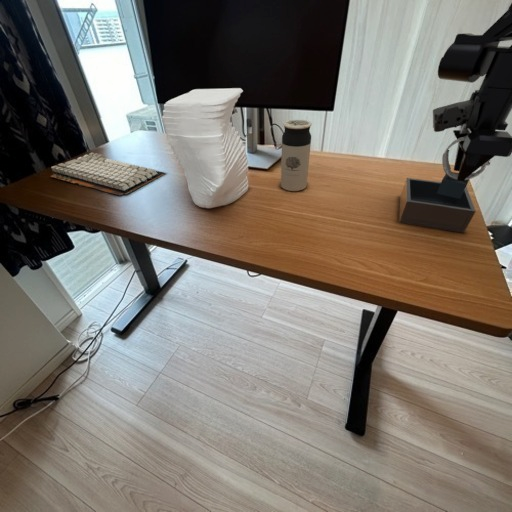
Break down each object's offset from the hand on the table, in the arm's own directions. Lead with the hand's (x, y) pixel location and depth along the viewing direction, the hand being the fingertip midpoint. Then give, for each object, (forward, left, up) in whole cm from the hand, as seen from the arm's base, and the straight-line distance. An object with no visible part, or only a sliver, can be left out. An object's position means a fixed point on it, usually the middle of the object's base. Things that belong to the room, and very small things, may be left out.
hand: (458, 175), depth 55 cm
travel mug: (+37, -11, -13) cm, 41 cm away
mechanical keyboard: (+101, +2, -13) cm, 102 cm away
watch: (0, 0, -4) cm, 4 cm away
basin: (0, -7, -13) cm, 15 cm away
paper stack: (+58, +3, -13) cm, 60 cm away
